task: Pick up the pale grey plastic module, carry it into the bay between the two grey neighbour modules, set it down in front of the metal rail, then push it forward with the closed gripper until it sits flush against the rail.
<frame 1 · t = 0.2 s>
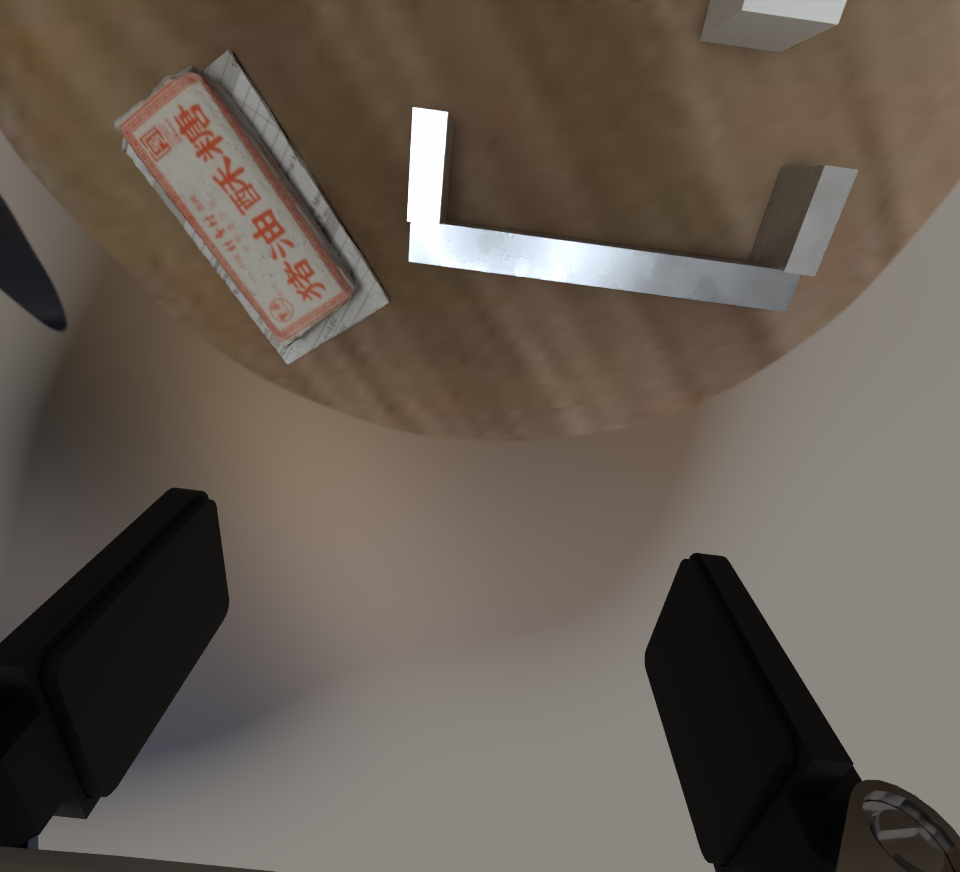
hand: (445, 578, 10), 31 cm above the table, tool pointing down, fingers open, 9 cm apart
rail: (595, 255, 36), on the table
packaged product: (270, 225, 37), on the table
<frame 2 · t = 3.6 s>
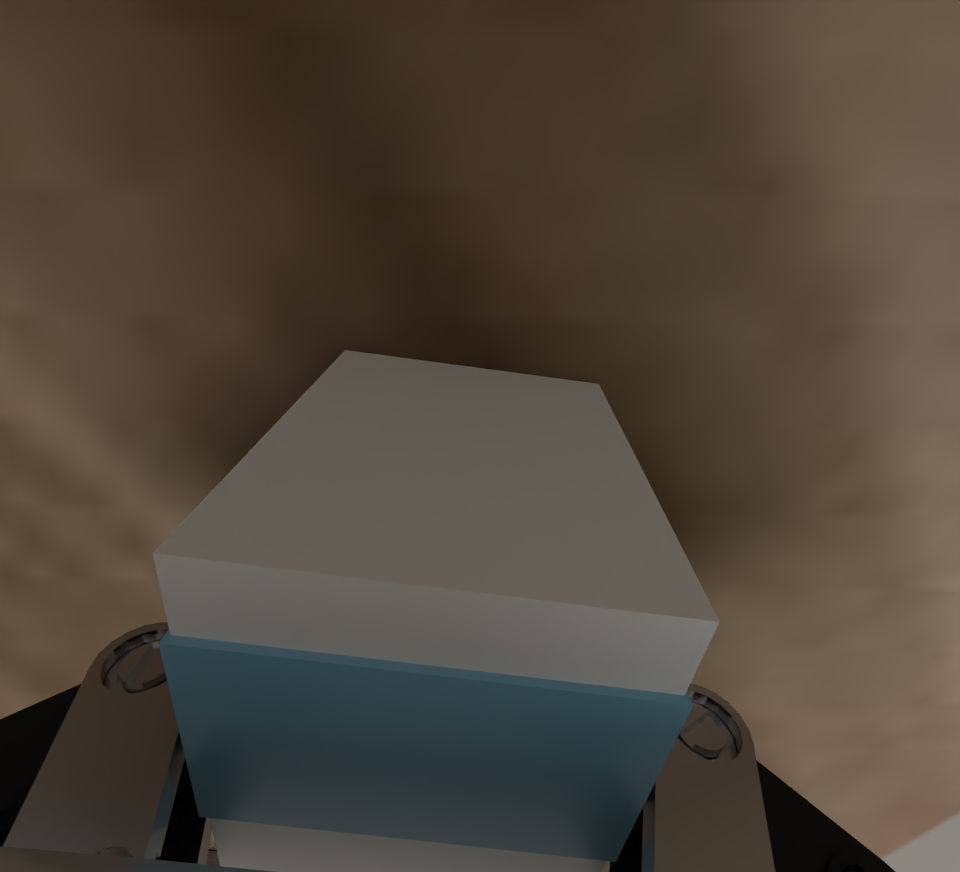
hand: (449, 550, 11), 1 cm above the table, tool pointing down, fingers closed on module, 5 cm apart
module: (452, 530, 12), on the table, touching gripper
when the fingers open (2 cm above the table, at t = 8.2 s): module stays where it is, on the table.
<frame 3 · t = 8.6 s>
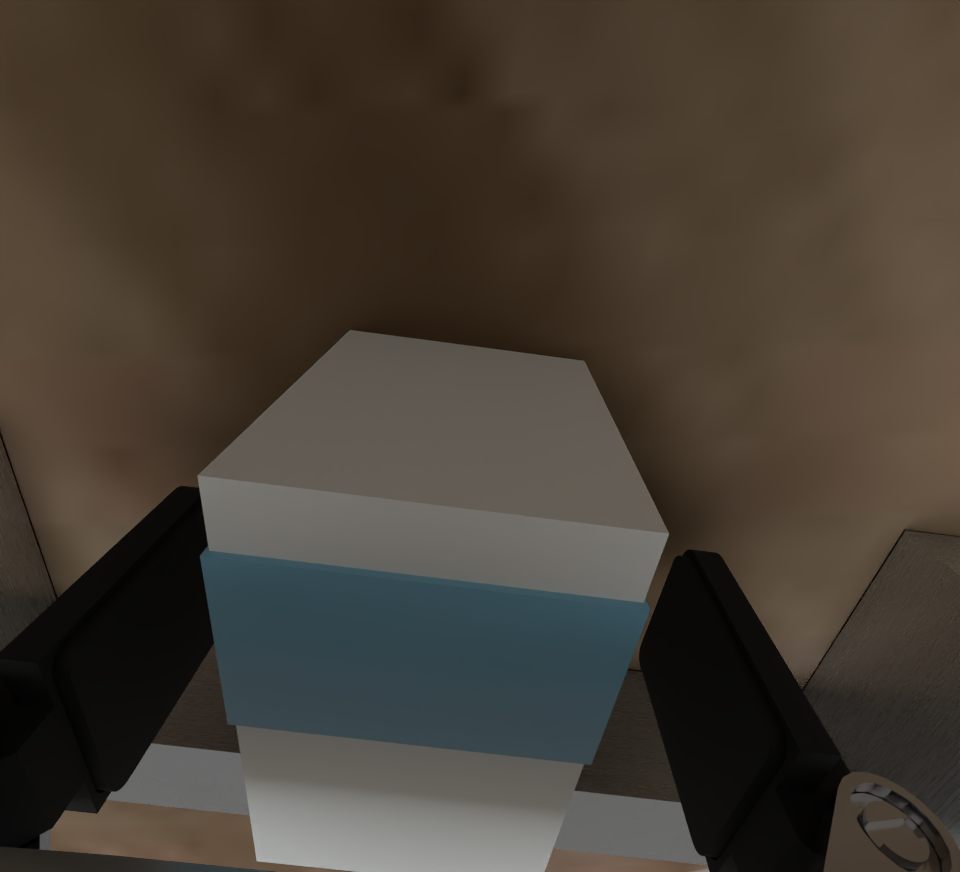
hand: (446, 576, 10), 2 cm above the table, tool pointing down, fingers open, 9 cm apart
rail: (434, 670, 15), on the table
module: (449, 499, 12), on the table
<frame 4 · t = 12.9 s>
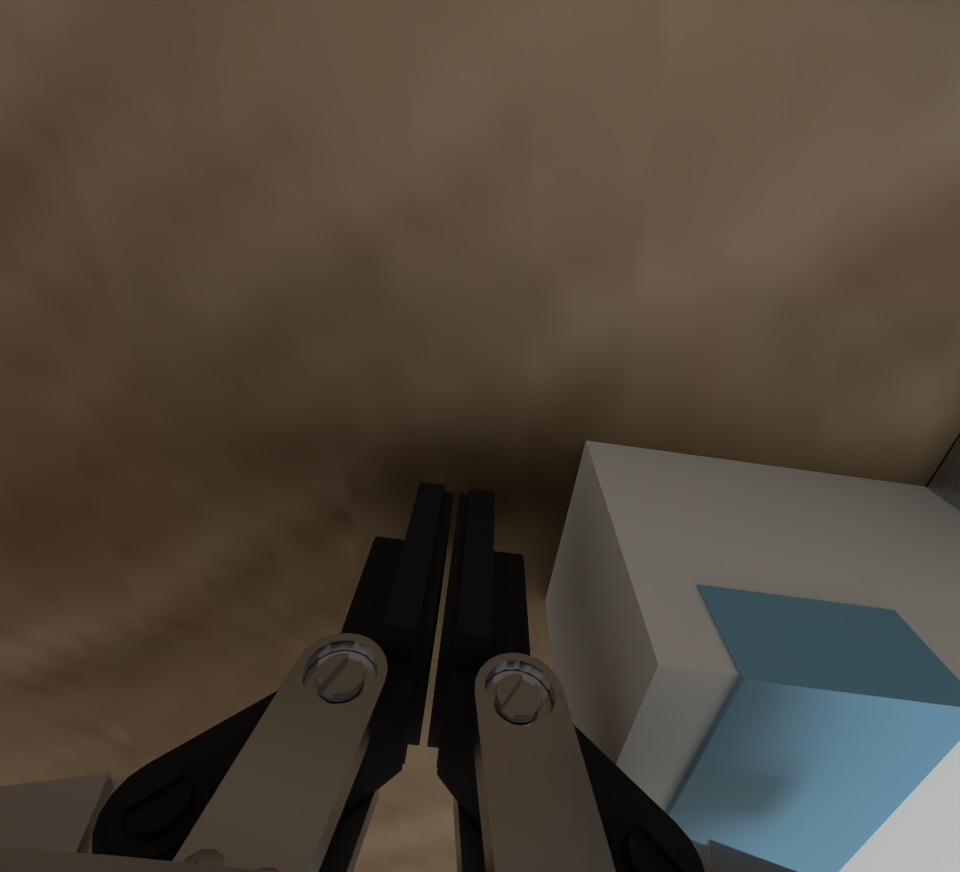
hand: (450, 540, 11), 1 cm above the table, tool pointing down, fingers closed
rail: (916, 569, 13), on the table
module: (719, 548, 13), on the table, touching gripper, rail
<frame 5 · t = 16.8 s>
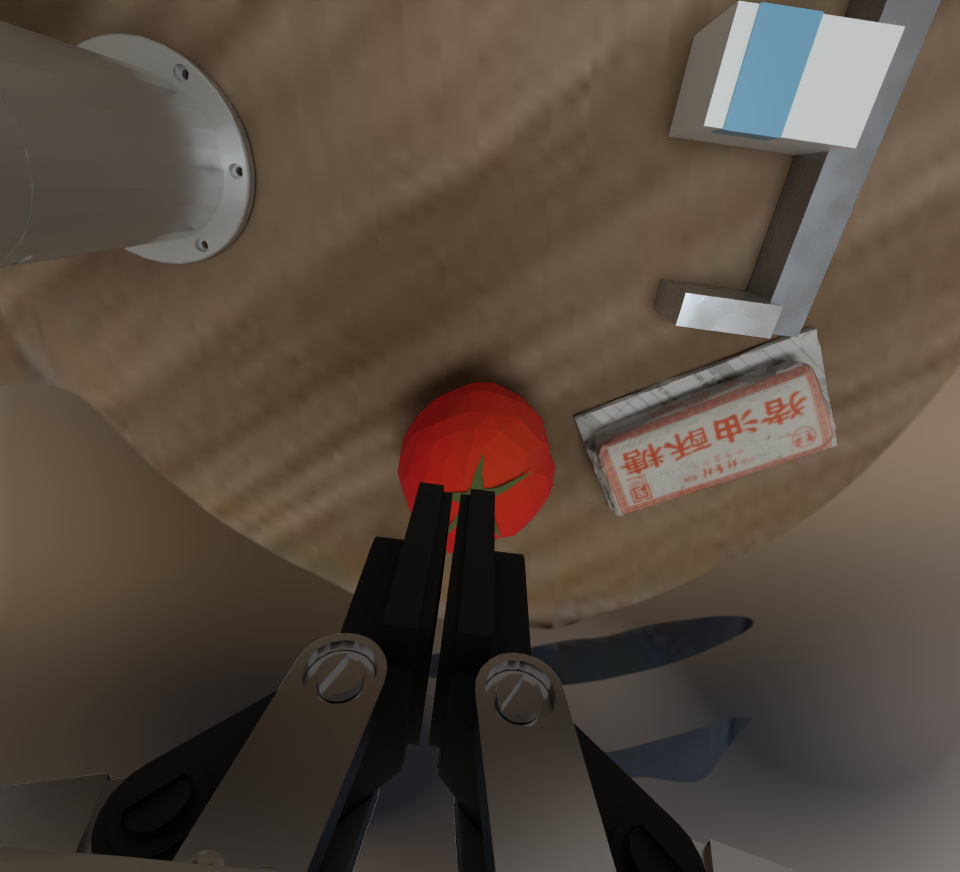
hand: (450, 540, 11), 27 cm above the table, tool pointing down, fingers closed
rail: (830, 105, 30), on the table
module: (745, 97, 30), on the table
tomato: (478, 436, 41), on the table
packaged product: (698, 423, 40), on the table
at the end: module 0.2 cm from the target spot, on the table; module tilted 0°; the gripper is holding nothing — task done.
